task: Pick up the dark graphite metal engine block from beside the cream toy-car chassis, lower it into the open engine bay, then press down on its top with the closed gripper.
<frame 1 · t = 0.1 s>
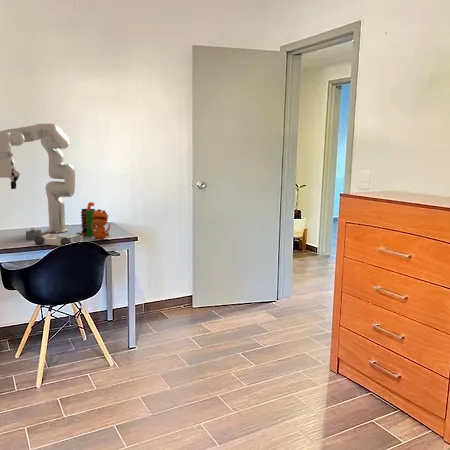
hand: (5, 188, 234), 31 cm above the table, tool pointing down, fingers open, 9 cm apart
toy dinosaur: (100, 239, 263), on the table
engine block: (33, 239, 259), on the table
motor: (88, 235, 273), on the table
chassis: (59, 242, 250), on the table
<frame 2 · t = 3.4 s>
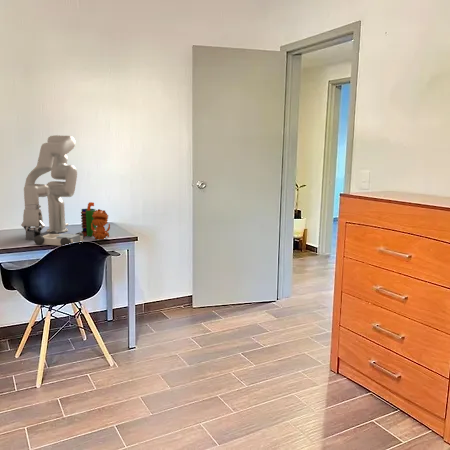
hand: (33, 237, 259), 1 cm above the table, tool pointing down, fingers closed on engine block, 5 cm apart
engine block: (33, 238, 259), on the table, touching gripper
everything else where it was.
when the fingers open (4 cm above the table, at t = 8.6 s): engine block drops 3 cm, resting on chassis.
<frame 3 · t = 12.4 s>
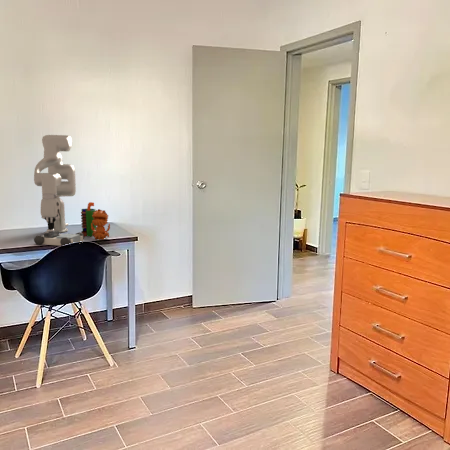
hand: (51, 229, 250), 8 cm above the table, tool pointing down, fingers closed
engine block: (51, 240, 251), point 1 cm above the table, touching chassis, gripper
everything else where it was.
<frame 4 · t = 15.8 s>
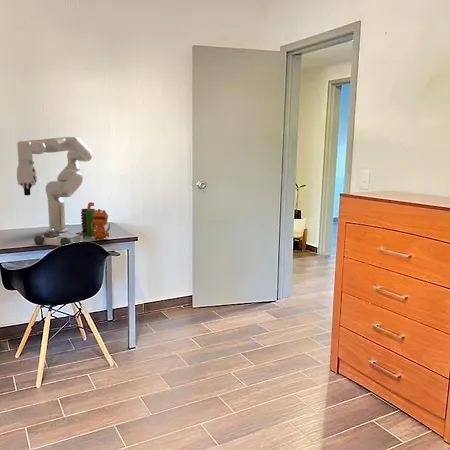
hand: (27, 195, 257), 25 cm above the table, tool pointing down, fingers closed
engine block: (51, 240, 251), point 1 cm above the table, touching chassis
everything else where it was.
at the end: engine block 0.1 cm from the target spot on the chassis, point 1.0 cm above the chassis's base; engine block tilted 0°; the gripper is holding nothing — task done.
